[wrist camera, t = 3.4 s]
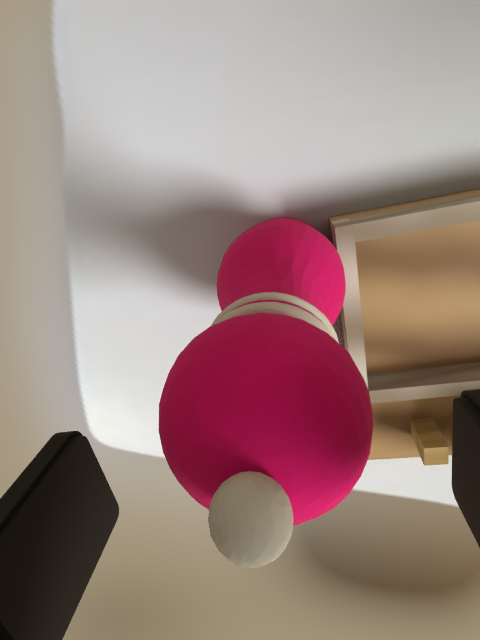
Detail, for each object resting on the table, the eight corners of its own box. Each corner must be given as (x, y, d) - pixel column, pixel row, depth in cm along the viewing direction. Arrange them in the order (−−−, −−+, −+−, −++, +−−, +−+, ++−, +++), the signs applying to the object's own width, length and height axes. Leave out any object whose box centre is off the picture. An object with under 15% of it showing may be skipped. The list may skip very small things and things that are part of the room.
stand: (328, 217, 23) (336, 231, 19) (625, 160, 20) (710, 162, 16) (355, 446, 31) (364, 491, 26) (576, 432, 27) (625, 480, 23)
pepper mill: (214, 231, 25) (-11, 449, 7) (320, 192, 23) (409, 349, 5) (251, 324, 27) (161, 666, 9) (349, 296, 25) (481, 660, 7)
